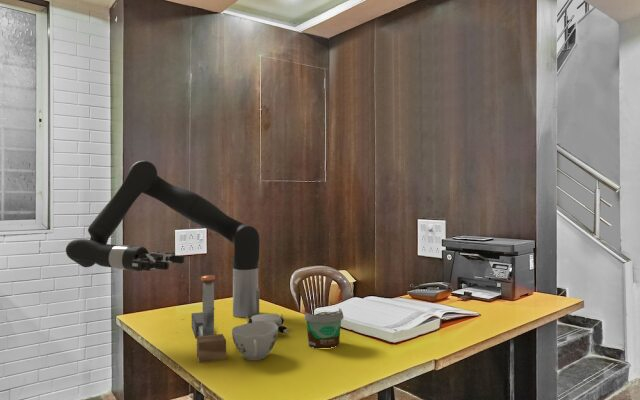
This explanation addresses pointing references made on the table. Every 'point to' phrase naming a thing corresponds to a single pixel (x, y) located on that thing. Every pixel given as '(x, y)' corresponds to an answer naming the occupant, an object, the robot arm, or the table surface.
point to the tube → (207, 306)
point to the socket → (211, 348)
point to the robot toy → (270, 320)
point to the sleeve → (196, 322)
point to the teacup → (255, 339)
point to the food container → (324, 329)
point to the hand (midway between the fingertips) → (176, 262)
